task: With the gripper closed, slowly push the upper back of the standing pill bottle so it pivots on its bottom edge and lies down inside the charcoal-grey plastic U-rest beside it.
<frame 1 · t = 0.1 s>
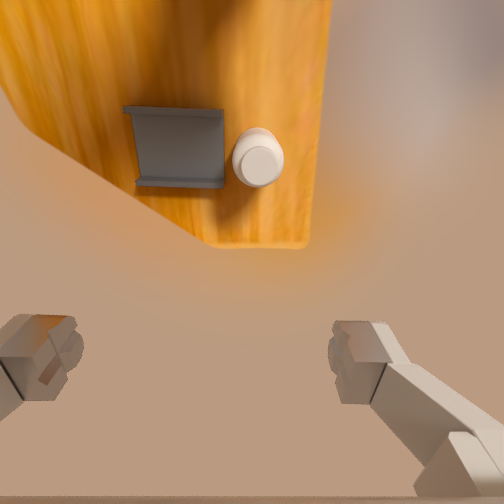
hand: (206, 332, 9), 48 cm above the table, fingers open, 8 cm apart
pill bottle: (256, 149, 52), on the table
u rest: (180, 146, 51), on the table
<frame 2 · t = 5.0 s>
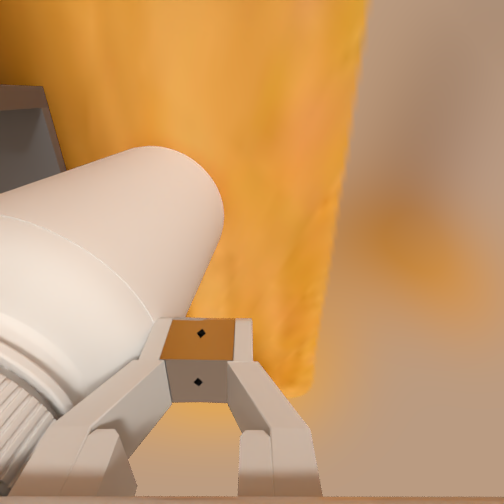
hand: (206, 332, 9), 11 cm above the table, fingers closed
pill bottle: (166, 206, 18), on the table, touching gripper
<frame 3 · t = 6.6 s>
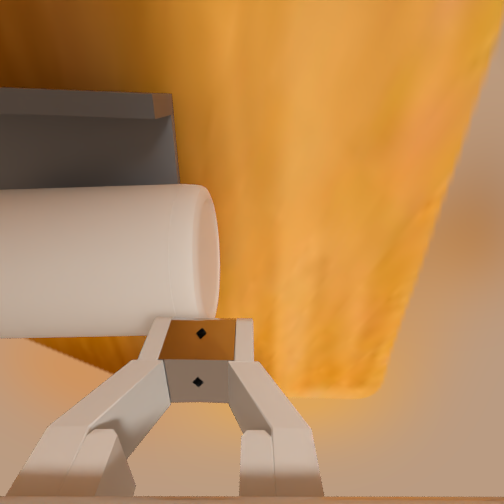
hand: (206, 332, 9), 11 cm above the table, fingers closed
pill bottle: (215, 256, 15), point 5 cm above the table, touching u rest
u rest: (59, 202, 18), on the table
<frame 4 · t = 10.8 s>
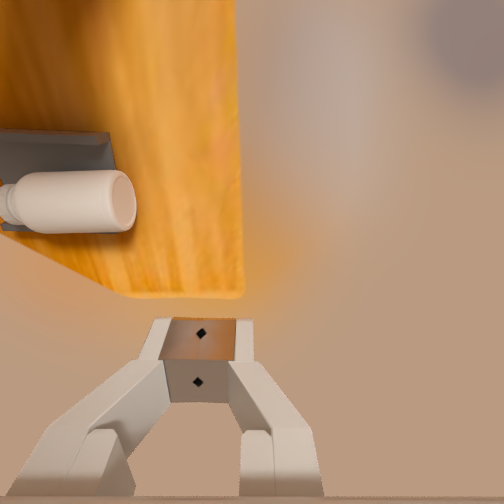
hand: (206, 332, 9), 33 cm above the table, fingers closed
pill bottle: (126, 200, 36), point 5 cm above the table, touching u rest
u rest: (61, 179, 39), on the table
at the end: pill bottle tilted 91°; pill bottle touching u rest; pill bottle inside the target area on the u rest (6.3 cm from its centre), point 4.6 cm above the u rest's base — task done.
